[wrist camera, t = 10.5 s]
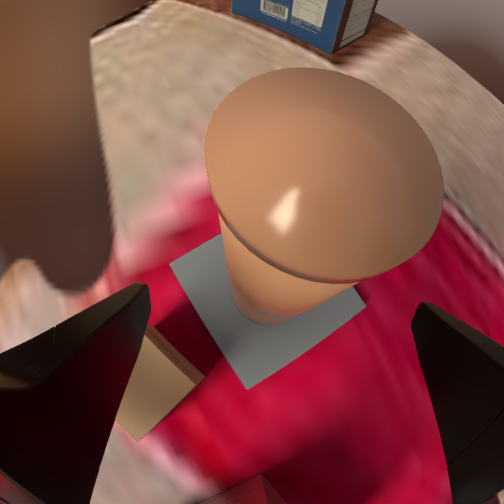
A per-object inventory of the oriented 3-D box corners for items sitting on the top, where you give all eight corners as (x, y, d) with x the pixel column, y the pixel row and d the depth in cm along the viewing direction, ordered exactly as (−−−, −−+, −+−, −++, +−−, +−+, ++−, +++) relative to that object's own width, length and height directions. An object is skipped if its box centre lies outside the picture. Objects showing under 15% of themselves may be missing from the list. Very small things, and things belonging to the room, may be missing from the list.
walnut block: (159, 423, 16) (137, 442, 12) (110, 373, 17) (77, 377, 13) (205, 376, 17) (195, 384, 13) (153, 326, 18) (130, 319, 14)
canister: (274, 343, 17) (372, 337, 4) (212, 291, 18) (150, 155, 5) (323, 283, 18) (466, 159, 5) (264, 234, 19) (303, 45, 6)
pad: (246, 388, 17) (247, 390, 16) (171, 267, 19) (169, 264, 18) (361, 308, 19) (366, 306, 18) (285, 201, 21) (287, 195, 20)
